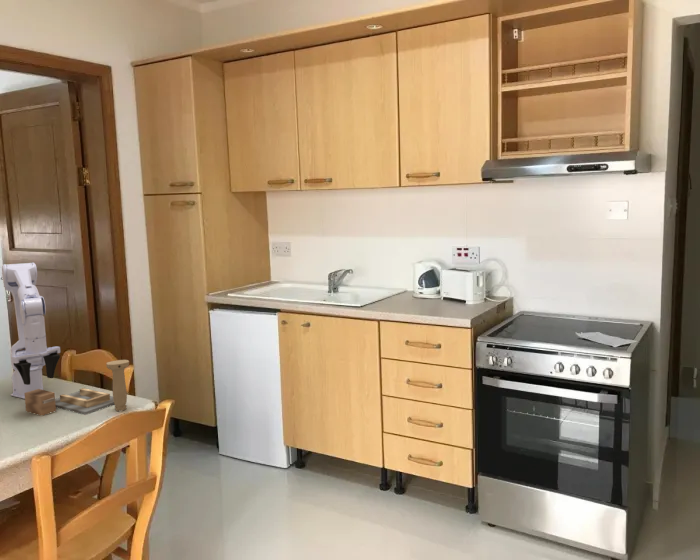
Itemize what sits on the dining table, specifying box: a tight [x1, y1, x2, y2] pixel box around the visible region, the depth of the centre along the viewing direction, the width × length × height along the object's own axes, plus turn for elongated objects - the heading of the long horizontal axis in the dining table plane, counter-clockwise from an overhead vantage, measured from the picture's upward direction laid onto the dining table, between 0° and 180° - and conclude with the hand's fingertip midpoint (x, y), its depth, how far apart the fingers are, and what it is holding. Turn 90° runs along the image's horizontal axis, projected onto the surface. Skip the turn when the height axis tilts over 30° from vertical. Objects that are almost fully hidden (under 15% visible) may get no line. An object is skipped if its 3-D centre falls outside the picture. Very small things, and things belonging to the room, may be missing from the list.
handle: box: [106, 359, 130, 412], centre depth 188 cm, size 5×6×15 cm
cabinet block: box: [24, 389, 57, 416], centre depth 188 cm, size 9×5×6 cm, turn 60°
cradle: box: [55, 387, 114, 415], centre depth 196 cm, size 20×14×3 cm
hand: (38, 381), depth 187 cm, fingers open, 7 cm apart
